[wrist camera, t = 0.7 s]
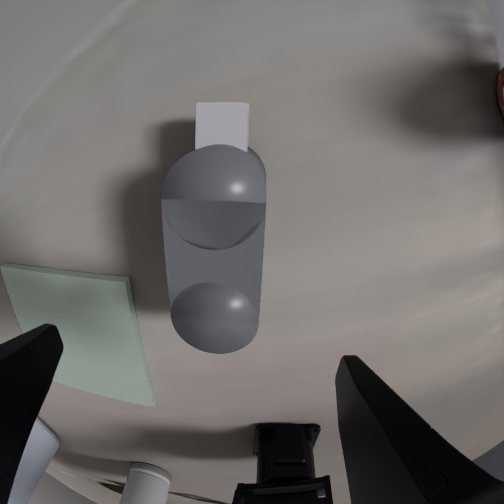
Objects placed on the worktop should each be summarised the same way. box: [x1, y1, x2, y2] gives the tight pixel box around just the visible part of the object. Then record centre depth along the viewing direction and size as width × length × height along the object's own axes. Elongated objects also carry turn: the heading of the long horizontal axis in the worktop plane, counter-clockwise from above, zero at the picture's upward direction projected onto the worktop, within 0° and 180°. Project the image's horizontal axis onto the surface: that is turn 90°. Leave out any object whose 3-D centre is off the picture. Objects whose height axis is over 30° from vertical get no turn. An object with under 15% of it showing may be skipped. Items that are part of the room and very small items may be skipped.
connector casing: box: [161, 102, 266, 354], centre depth 16 cm, size 12×4×6 cm, turn 178°
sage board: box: [0, 263, 157, 408], centre depth 23 cm, size 14×14×1 cm
